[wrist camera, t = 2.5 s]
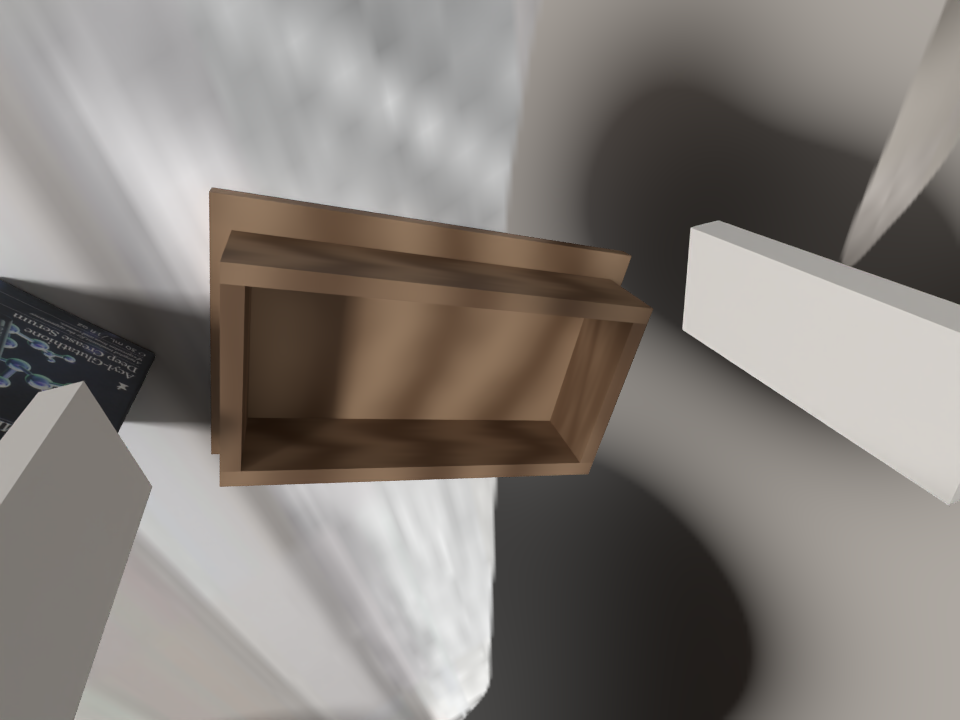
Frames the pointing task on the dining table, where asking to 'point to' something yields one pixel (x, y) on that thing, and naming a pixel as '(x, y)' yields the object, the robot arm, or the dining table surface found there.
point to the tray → (407, 346)
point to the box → (62, 358)
